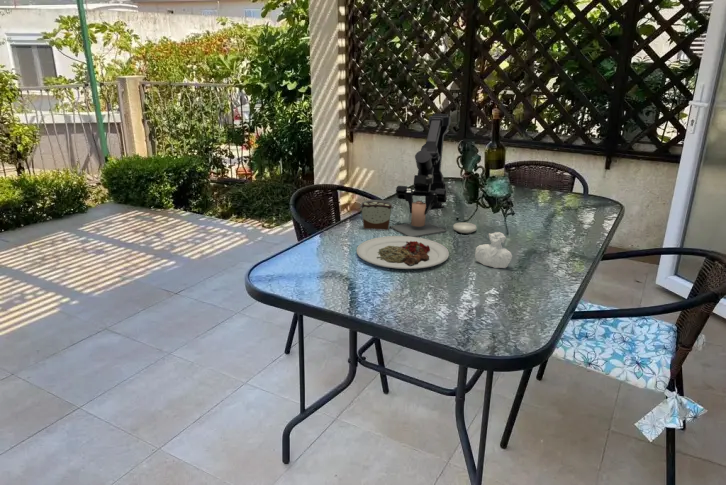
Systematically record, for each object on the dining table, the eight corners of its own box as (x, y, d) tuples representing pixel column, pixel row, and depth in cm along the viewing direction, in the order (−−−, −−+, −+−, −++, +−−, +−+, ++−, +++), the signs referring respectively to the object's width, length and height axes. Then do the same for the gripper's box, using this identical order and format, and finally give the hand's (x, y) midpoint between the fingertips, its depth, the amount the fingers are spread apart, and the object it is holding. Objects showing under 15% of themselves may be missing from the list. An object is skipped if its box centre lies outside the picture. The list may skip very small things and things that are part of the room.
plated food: (341, 264, 165) (341, 254, 164) (375, 236, 192) (375, 227, 191) (435, 279, 155) (436, 269, 154) (457, 247, 181) (458, 238, 180)
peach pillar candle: (424, 222, 201) (425, 199, 198) (425, 226, 196) (427, 203, 193) (410, 222, 201) (411, 199, 198) (411, 226, 196) (412, 203, 193)
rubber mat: (424, 222, 208) (424, 220, 208) (446, 231, 197) (446, 230, 197) (389, 227, 201) (389, 226, 201) (410, 238, 190) (410, 236, 189)
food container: (393, 225, 204) (394, 200, 201) (392, 230, 198) (393, 204, 195) (361, 224, 205) (361, 198, 202) (359, 228, 199) (360, 203, 196)
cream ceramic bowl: (466, 226, 204) (466, 221, 203) (480, 232, 197) (481, 227, 196) (448, 229, 200) (448, 224, 199) (462, 235, 193) (463, 230, 193)
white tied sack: (510, 275, 164) (522, 242, 166) (504, 266, 158) (516, 233, 160) (475, 266, 171) (487, 234, 173) (467, 257, 165) (480, 225, 167)
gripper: (397, 164, 197) (390, 200, 191) (448, 167, 193) (442, 204, 186) (401, 180, 207) (394, 215, 201) (449, 184, 202) (443, 219, 196)
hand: (417, 213), depth 196 cm, fingers closed on peach pillar candle, 5 cm apart
